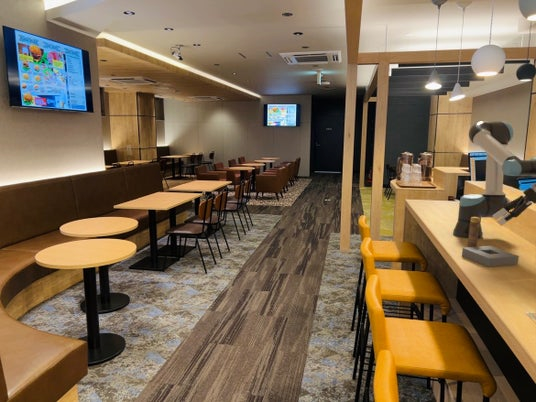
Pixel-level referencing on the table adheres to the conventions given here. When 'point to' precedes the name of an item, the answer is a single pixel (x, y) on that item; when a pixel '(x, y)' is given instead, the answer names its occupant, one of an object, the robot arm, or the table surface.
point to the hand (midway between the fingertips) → (496, 220)
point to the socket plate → (490, 256)
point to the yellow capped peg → (473, 232)
